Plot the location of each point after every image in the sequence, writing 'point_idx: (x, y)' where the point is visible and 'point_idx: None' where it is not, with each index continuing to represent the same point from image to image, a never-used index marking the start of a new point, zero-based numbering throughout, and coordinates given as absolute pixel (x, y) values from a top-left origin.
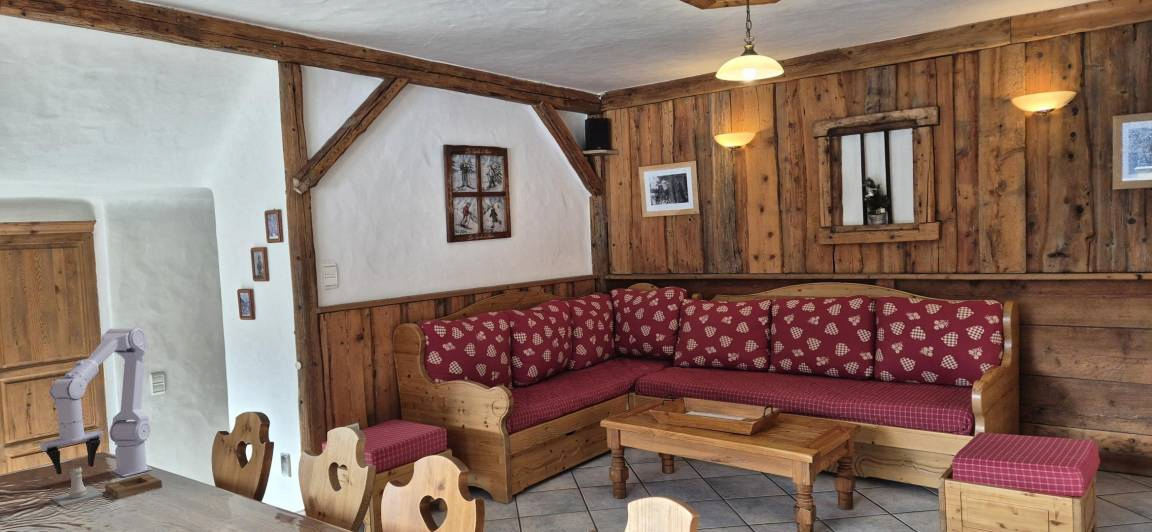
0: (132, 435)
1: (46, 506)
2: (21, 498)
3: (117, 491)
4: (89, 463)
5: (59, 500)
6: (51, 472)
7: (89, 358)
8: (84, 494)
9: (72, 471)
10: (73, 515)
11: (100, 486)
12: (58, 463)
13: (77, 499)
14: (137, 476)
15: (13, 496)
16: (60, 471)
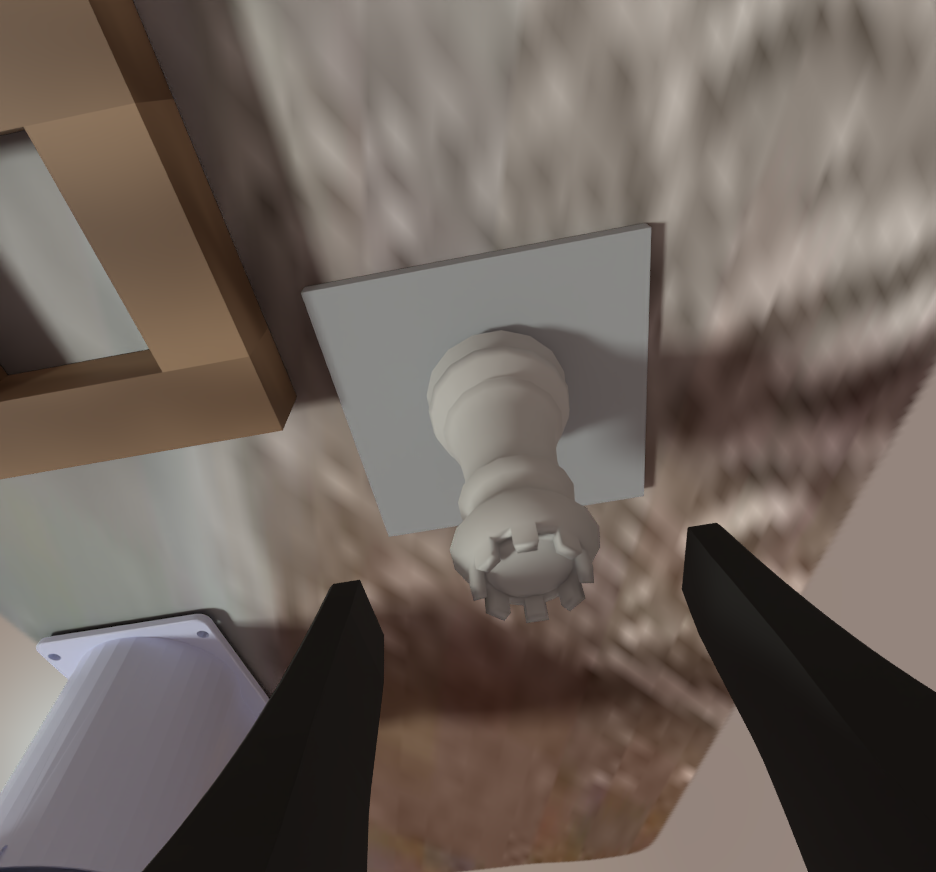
0: None
1: (717, 341)
2: None
3: (86, 2)
4: (368, 637)
5: (626, 379)
6: (531, 817)
7: None
8: (452, 350)
9: (572, 524)
10: None
11: (340, 536)
12: (812, 642)
13: (512, 293)
14: (17, 464)
15: None
16: (718, 544)
